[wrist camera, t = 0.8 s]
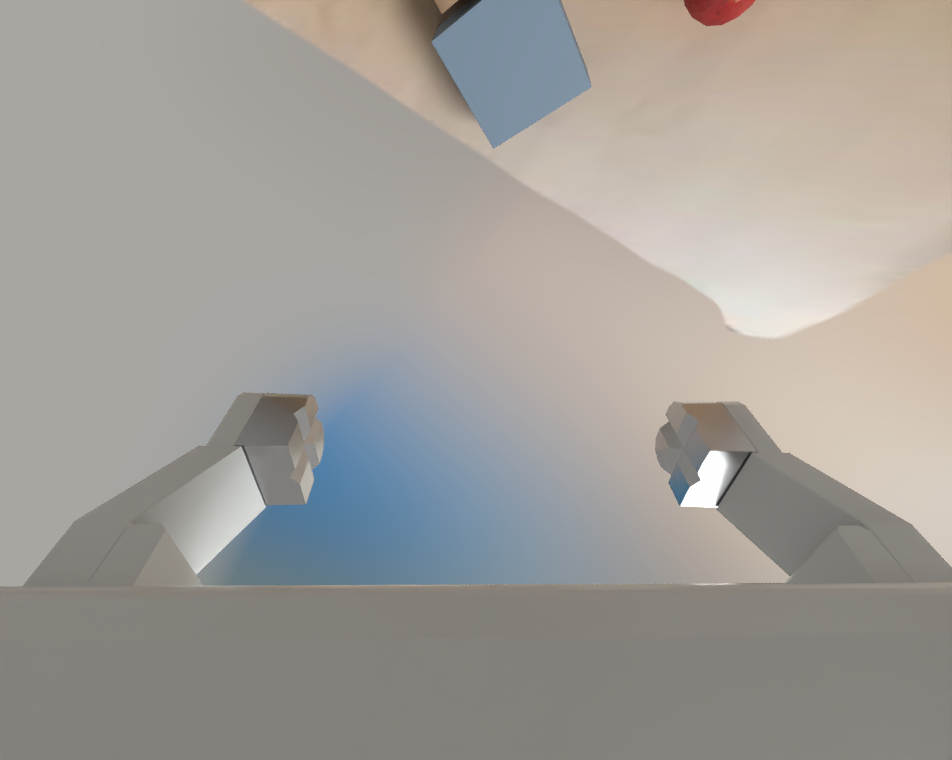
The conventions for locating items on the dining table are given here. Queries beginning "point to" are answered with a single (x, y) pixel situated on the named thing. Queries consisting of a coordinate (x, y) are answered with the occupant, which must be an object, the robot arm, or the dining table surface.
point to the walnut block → (444, 4)
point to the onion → (716, 10)
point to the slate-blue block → (512, 62)
